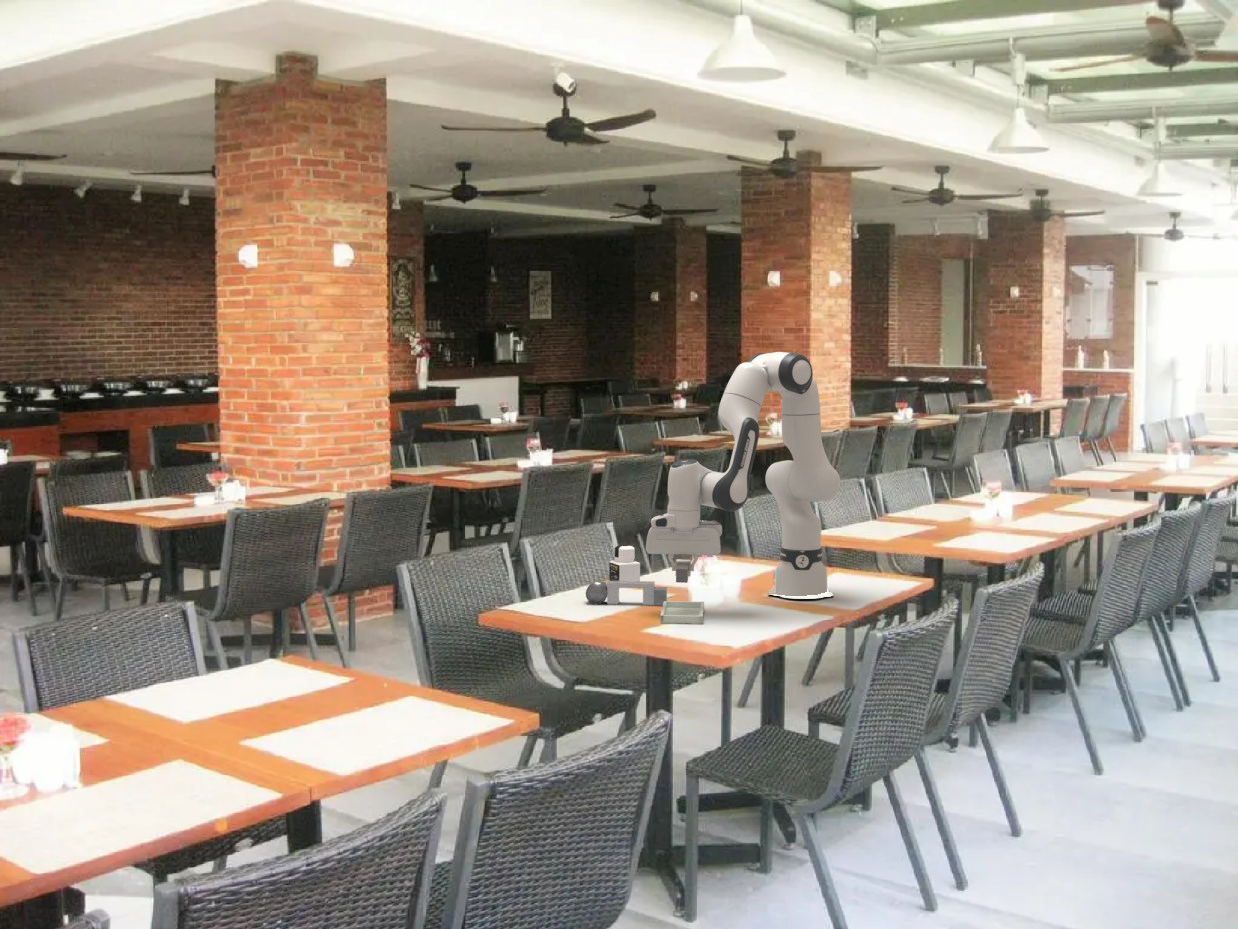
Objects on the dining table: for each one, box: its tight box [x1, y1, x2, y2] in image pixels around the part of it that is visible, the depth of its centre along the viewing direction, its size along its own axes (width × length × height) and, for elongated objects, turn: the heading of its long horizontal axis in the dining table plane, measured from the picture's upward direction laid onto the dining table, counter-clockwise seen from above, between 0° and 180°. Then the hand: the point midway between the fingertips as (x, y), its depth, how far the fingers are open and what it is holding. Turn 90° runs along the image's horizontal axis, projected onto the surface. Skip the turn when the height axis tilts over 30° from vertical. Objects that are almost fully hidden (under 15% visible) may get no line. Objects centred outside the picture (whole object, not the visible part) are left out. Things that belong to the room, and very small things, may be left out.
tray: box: [659, 600, 705, 625], centre depth 356 cm, size 20×11×2 cm, turn 175°
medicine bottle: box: [608, 544, 641, 581], centre depth 401 cm, size 7×7×12 cm
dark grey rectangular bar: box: [675, 558, 692, 584], centre depth 357 cm, size 14×4×4 cm, turn 175°
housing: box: [585, 579, 668, 607], centre depth 373 cm, size 5×22×6 cm, turn 85°
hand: (682, 570), depth 360 cm, fingers closed on dark grey rectangular bar, 3 cm apart
